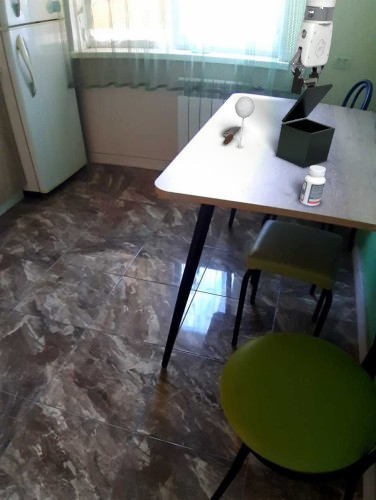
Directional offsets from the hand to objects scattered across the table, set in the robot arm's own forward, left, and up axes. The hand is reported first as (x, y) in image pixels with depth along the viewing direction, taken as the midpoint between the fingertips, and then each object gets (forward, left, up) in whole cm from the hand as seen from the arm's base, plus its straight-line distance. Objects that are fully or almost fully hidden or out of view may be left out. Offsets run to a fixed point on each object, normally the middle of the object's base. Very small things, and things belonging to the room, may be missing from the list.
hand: (303, 91), depth 121 cm
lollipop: (+14, +10, -18) cm, 25 cm away
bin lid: (-2, 0, -3) cm, 4 cm away
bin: (-4, 0, -18) cm, 19 cm away
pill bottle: (-26, +22, -18) cm, 39 cm away
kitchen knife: (+24, +5, -18) cm, 31 cm away
